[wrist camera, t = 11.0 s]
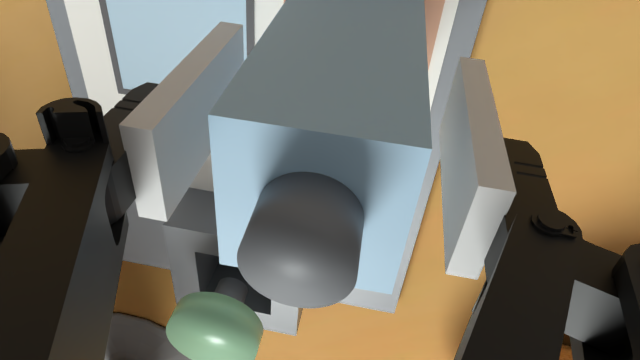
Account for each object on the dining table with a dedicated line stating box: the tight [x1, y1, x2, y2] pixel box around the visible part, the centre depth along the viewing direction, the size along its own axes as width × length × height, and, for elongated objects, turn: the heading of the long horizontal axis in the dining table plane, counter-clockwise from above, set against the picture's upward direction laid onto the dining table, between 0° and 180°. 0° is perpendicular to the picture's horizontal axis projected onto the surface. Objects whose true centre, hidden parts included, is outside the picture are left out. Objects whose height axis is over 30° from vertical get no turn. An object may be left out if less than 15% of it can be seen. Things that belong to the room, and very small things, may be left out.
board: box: [46, 0, 487, 336], centre depth 21 cm, size 24×18×4 cm
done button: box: [166, 277, 263, 360], centre depth 23 cm, size 4×4×3 cm
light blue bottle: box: [208, 0, 432, 308], centre depth 14 cm, size 4×4×12 cm
